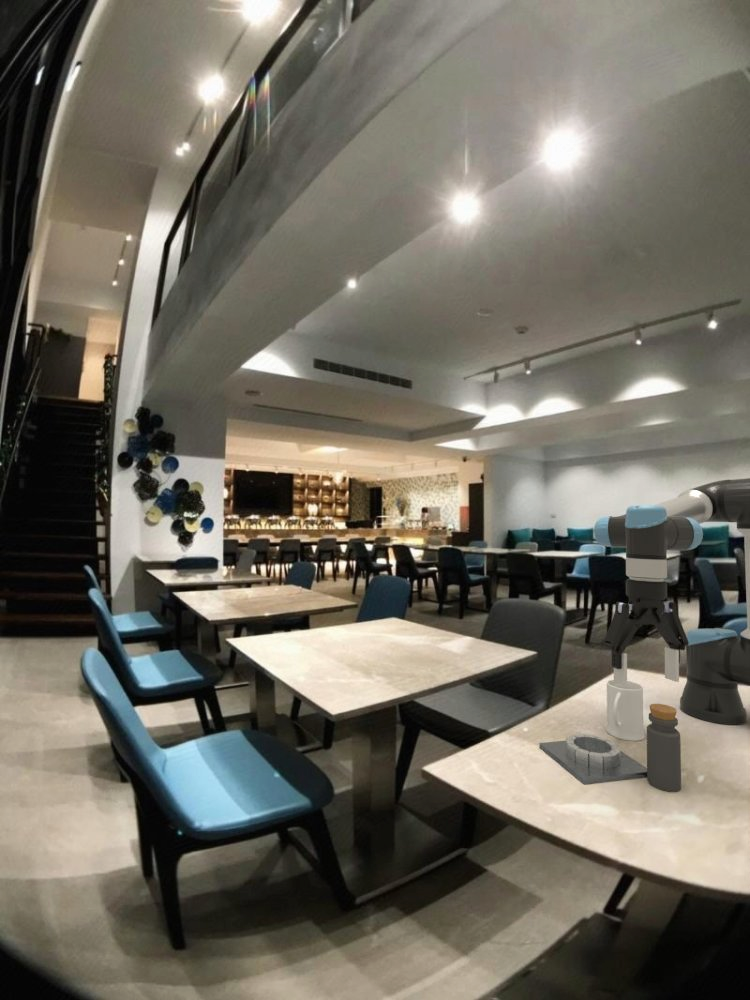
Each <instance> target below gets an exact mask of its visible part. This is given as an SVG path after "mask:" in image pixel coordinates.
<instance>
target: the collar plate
mask: <svg viewBox="0 0 750 1000" xmlns="http://www.w3.org/2000/svg"><path fill="white" fill-rule="evenodd" d="M538 748H539V749H541V750H542V751H543V752H545V754H547V755H548V756H549V757H550V758H551V759H552V760H554V761H555V762H556V763H558V764H559V765H560V766H561V767H563V769H565V770H566V771H567V772H569V773H570V774H571V775H572V776H573V777H575V778H576V779H577V780H578V781H579V782H581V783H582V784H583V785H591V784H598V783H599V784H600V783H607V782H616V781H623V780H632V779H641V778H647V766H644V765H643V764H642V763H640V762H638V761H637V760H635V759H634V758H632V757H631V756H629V755H628V754H627V753H624V752H623V751H621V750H620V747H619V745H618V744H617V743H615V742H613V741H611V740H610V739H608V738H604V737H602V736H599V735H595V734H586V733H577V734H575V733H574V734H571V735H569V736H567V737H566V738H565V740H556V741H548V742H546V741H545V742H539V746H538Z"/></svg>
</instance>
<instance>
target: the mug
mask: <svg viewBox="0 0 750 1000" xmlns="http://www.w3.org/2000/svg"><path fill="white" fill-rule="evenodd" d="M605 731H606V733H608V734H609V735H611V736H612V737H614V738H617V739H619V740H624V741H630V742H636V741H637V742H638V741H639V742H640V741H642V740H644V739H645V738H646V737H645V736H646V735H645V731H644V687H643V686H642V685H641V684H639V683H637V682H633V681H631V680H627V687H623V686H621V685H618V684H616V683H614V679H608V680H607V681H606V727H605Z"/></svg>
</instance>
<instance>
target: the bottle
mask: <svg viewBox="0 0 750 1000" xmlns="http://www.w3.org/2000/svg"><path fill="white" fill-rule="evenodd" d="M649 710H650V712H649V714H648V720H649V722H651V723H650V724H648V725H647V726H646V768H647V777H646V778H647V782H648V783H649V784H650V785H651V786H652V787H654V788H656V789H658V790H661V791H665V792H669V793H670V792H671V793H672V792H674V793H675V792H680V790H681V789H682V757H681V756H682V753H681V751H682V750H681V733H680V731H678V729H677V728H675V727H677V726H679V720H678V718H677V717H676V716H677V709H676V708H675V707H673V706H671V705H667V704H663V703H651V704H650V705H649Z"/></svg>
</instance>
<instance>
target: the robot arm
mask: <svg viewBox="0 0 750 1000" xmlns="http://www.w3.org/2000/svg"><path fill="white" fill-rule="evenodd" d="M625 510H626V511H625V514H623V515H619V516H612V515H611V516H603V517H600V518H598V520H596V522H595V524H594V527H593V533H594V539H595V541H596V542H597V543H598V545H600V546H601V547H609V548H612V549H616V548H623V549H624V548H625V575H626V576H627V577H628V578H626V580H625V595H626V596H627V598H628V603H625V602H620V601H616V602H615V607H614V608H615V609H614V613H613V616H612V619H611V622H610V625H609V627H608V629H607V632H606V635H605V636H604V637H605V638H603V639H604V640H603V642H602V647H603V648H604V649H607V650H609V651H610V652H611V668H613V680H614V683H616V684H618V685H621V686H623V687H627V681H628V653H626V652H624V651H625V650H626V648H627V647H628V645H629V644H630V642H631V640H632V639H633V638H634V636H635V634H636V632H638V630H639V629H640V628H642V627H643V626H648V625H653V626H654V627H655V628H656V630H657V631H658V633H659V634H660V636H661V637H662V638H663V640H664V642H665V643H666V644H667V646H665V647H664V679H666V680H670V681H673V682H674V683H675V682H676V683H679V682H680V663H681V651H685V650H686V651H685V654H686V655H685V657H686V658H685V659H686V661H685V662H686V683H685V685H684V688H683V691H682V694H681V697H680V699H679V708H680V710H681V711H682V712H683V713H685V714H687V715H689V716H691V717H694V718H696V719H699V720H703V721H706V722H711V723H716V724H723V725H724V724H725V725H743V724H745V723H746V722H747V719H748V718H747V717H748V716H747V714H748V713H747V710H746V708H745V707H744V704H743V701H742V697H741V695H740V692H739V687H738V685H739V684H742V685H745V686H747V687H748V686H749V687H750V477H749V478H737V479H736V478H735V479H724V480H723V479H721V480H716V481H713V482H708V483H706V484H703V485H699V486H696V487H693V488H690V489H687V490H684V491H683V492H681V493H680V494H679V495H677V497H675V498H672V499H668V500H665V501H662V502H659V503H657V504H654V505H653V504H652V505H651V504H646V505H643V504H642V505H641V504H639V505H631V506H628V507H627V508H626V509H625ZM703 523H736V531H738V532H739V534H741V535H743V537H744V538H743V539H744V541H743V542H744V564H745V565H744V568H745V569H744V570H745V591H746V592H745V594H746V595H745V596H746V597H745V598H746V622H747V625H746V626H747V627H746V629H744V630H743V631H741V632H740V636H739V637H738V634H737V632H736V631H735V630H733V629H727V628H726V629H725V628H694V629H690V630H688V632H687V633H686V632H685V630H684V627H683V625H682V622H681V619H680V617H679V614H678V609H677V603H676V602H673V601H669V600H666V599H667V598H668V582H666V581H665V580H666V579H667V578H668V560H667V551H673V552H674V551H675V552H676V551H678V552H685V551H691V550H694V549H696V548H698V546H699V545H700V544H701V543H702V541H703V539H704V537H703V536H704V530H703V529H702V526H701V524H703Z"/></svg>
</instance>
